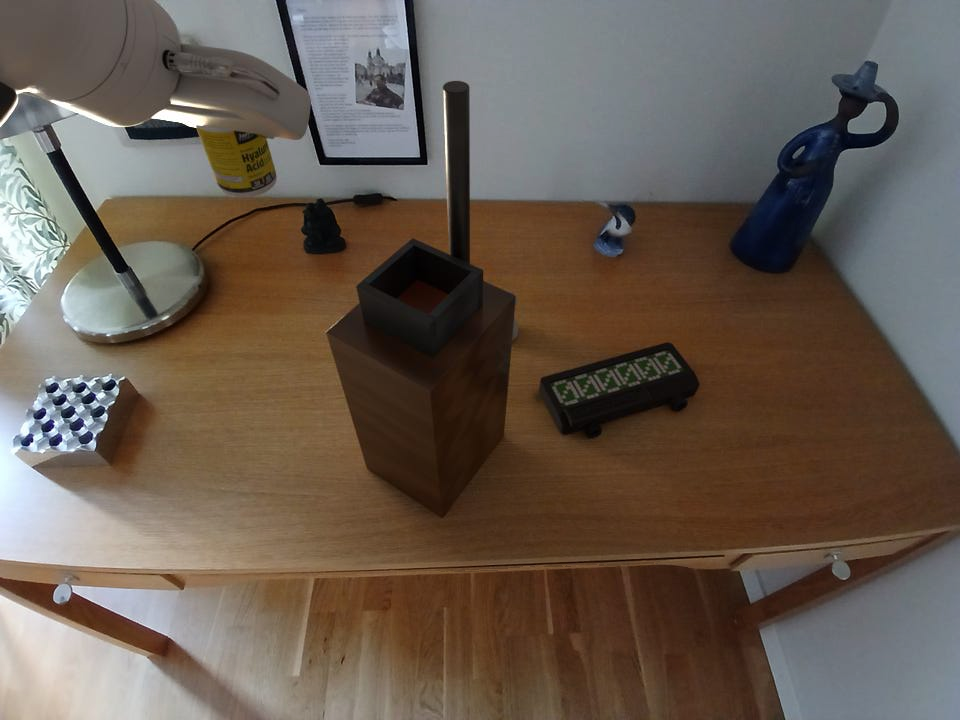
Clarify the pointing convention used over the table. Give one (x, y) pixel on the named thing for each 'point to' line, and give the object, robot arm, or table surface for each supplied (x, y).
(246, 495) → the table surface
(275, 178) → the supplement bottle
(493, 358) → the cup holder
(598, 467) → the table surface
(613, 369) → the digital display
